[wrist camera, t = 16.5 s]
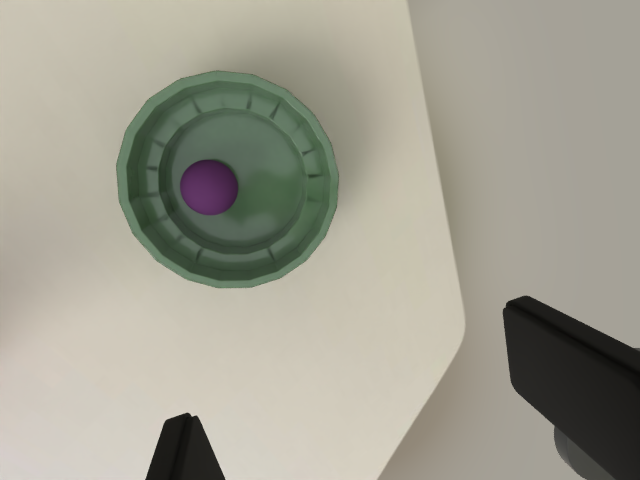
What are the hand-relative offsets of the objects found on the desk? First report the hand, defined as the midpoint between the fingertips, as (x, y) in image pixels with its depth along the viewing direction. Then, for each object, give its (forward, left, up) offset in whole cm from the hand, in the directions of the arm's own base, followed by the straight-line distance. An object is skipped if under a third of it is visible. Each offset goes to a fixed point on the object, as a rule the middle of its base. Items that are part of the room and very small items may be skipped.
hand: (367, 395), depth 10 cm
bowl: (+3, -6, -21) cm, 21 cm away
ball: (+5, -6, -18) cm, 20 cm away
